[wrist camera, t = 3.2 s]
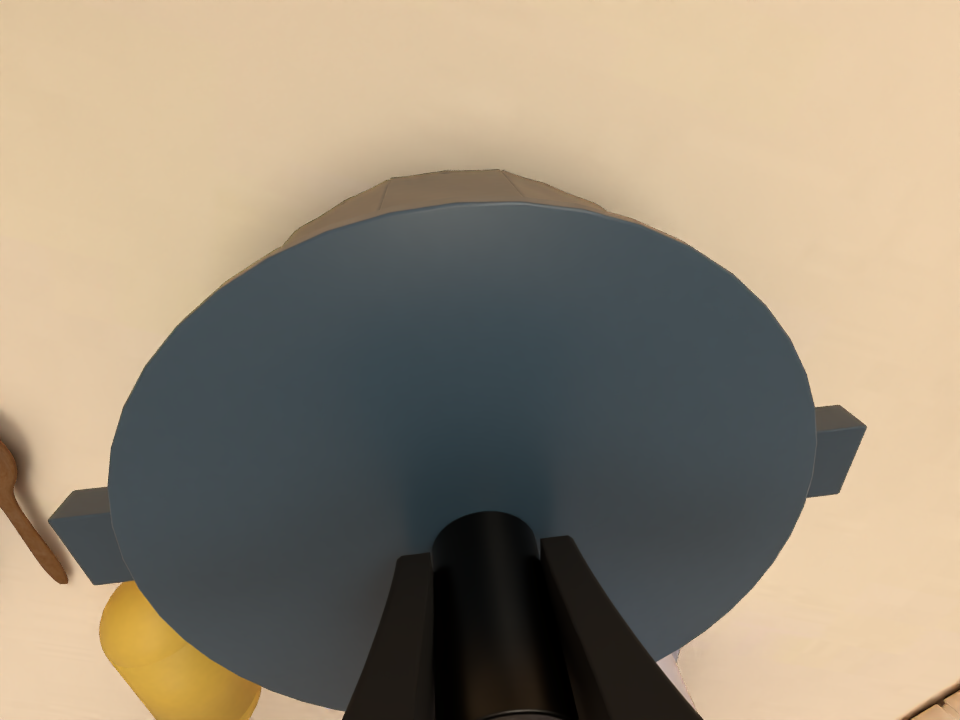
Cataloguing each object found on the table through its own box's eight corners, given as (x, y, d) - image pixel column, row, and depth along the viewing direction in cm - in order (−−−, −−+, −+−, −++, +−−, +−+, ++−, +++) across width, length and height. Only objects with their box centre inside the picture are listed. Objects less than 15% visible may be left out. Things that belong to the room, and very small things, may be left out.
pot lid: (720, 646, 17) (828, 849, 12) (253, 711, 16) (187, 956, 11) (881, 153, 9) (1339, 225, 4) (-25, 228, 8) (-588, 409, 4)
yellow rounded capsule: (281, 665, 24) (258, 759, 20) (201, 676, 23) (164, 773, 20) (217, 532, 19) (174, 627, 16) (116, 544, 19) (51, 642, 15)
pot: (706, 508, 21) (797, 645, 16) (236, 566, 20) (170, 733, 15) (795, 142, 14) (1016, 177, 9) (62, 200, 13) (-185, 281, 8)
